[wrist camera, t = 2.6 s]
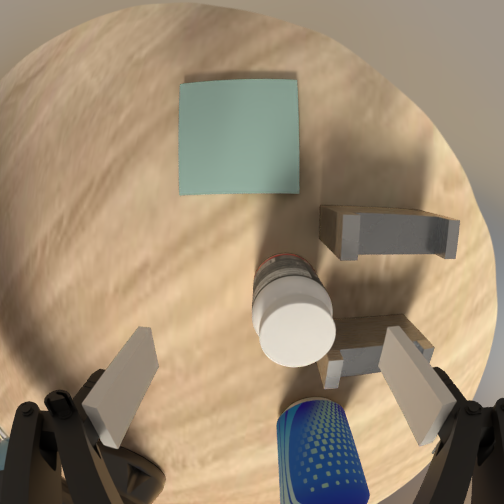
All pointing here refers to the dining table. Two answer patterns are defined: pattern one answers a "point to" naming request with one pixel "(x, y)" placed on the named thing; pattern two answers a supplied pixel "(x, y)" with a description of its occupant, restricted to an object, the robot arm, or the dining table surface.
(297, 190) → the coaster
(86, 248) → the dining table surface
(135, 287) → the dining table surface
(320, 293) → the pill bottle
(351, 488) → the beer can
